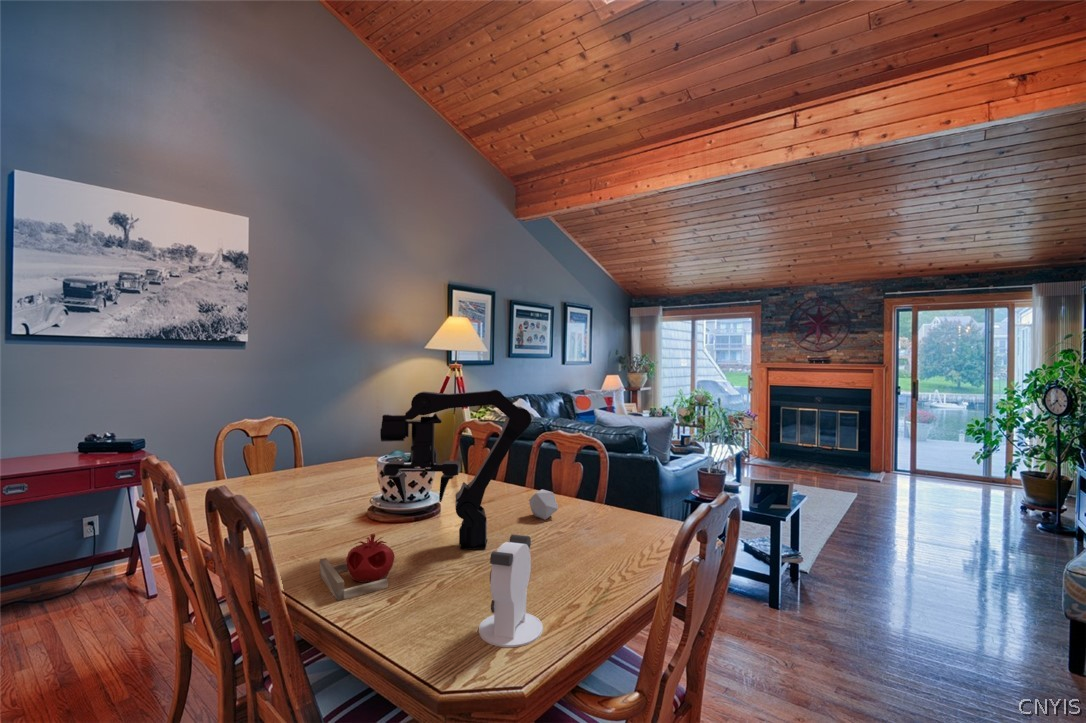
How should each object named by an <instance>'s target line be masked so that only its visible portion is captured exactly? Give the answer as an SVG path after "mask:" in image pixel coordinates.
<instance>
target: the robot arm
mask: <svg viewBox="0 0 1086 723" xmlns="http://www.w3.org/2000/svg"><path fill="white" fill-rule="evenodd" d="M410 405H411V406H410V408H409V409H408V410H406V411H405V414H394V415H393V414H383V415H382V419H381V427H380V429H379V430H380V431H379V432H380V434H379V435H380V441H381V442H382V443H383V442H389V443H390V442H405V440H406V438H409V437H410V425H411V446H410V456H409V458H410V459H411V462H410V463H405V462H404V461H405V460H390V461H388V462H386V464H384V466H383V468H382V475H383V476H386V477H388V479H389V480H392V482H393V483H394V485H395V487H396V488H397V491H398V493H399V495H400V498H401V500H402V502H403V503H405V502H407V501H406V500H407V492H406V490H407V489H406V473H407V472H408V473H411V472H412V473H413V472H415V473H416V472H417V473H419V472H425V473H426V472H433V473H434V472H436V473H437V472H442V475H441V476H440V482H439V483H440V485H439V494H438V495H439V497H438V498H439V499H438V500H439V503H442V501H443V499H444V495H445V492H446V489H447V485H448V483H449V481H450V480H453V479H454V477H455V476H459V474H460V473H461V471H462V469H461V468H462V466H461V462H460V461H459V460H445V461H444V462H443V463H438V453H439V452H438V450H437V449H436V445H435V443H436V442H435V424H441V423H443V422H442V418H440V417H439V416H438V414H437V413H438V412H442V411H444V410H448V409H457V408H458V409H459V408H470V407H481V406H483V407H484V406H495V407H496V408H497V410H499V411H500V412H501V413H503V414H504V415H505V416H506V417H505V419H504V422H503V425H502V428H501V432H500V434H499V436H498V437H497V439H496V441H495V442H494V444H493V446H492V447H491V449H490V451H489V452H488V454H487V456H486V458H485V459H484V461H483V462H482V465H481V466H480V467H479V469H478V471H477V472H476V474H475V476H474V477H473V479H472V480H471V481H470V482H468V483H466V482H465V481H462V484H461V487H460V488H459V491H458V492H456V493H455V501H454V502H455V503H454V504H455V511H456V512H455V513H456V515H457V516H458V517H459V518H460V519H461V520H462V521H461V525H460V526H459V530H458V531H459V532H458V535H459V536H458V537H459V539H458V544H459V549H460V550H485V549H487V544H488V537H487V535H488V534H487V533H488V532H487V531H488V530H487V528H488V527H487V523H488V521H487V515H486V511H485V510H486V509H485V508H484V507H483V506H482V501H483V499H484V495H485V492H486V489H487V487H488V486H489V484H490V482H491V481H492V479H493V477H494V475H495V474H496V473H497V470H498V469H499V468H500V466H501V464H502V462H503V460H504V459H505V457H506V456H507V454H508V452H509V451H510V449H511V447H512V446H513V444H514V443H515V442H516V441H517V440H518V439H519V438H520V437H521V436H522V435H523V434H524V433H525V432H526V431H527V429H528V428H529V427H530V425H531V424H532V415H531V412H530V411H529V410H527V409H526V408H524V407H523V406H522V407H521V406H517V405H515V404H514V402H512V401H511V400H510V399H508V398H507V397H506V396H504V394H503V393H502V391H500V390H498V389H491V390H484V391H481V390H480V391H472V392H471V391H470V392H459V393H458V392H457V393H456V392H455V393H442V392H435V391H420V392H418V393H417V394H415V395H414V396H413V397H412V399H411V404H410ZM430 414H433V415H432V416H428V415H430ZM419 416H420V419H419V420H418V419H415V418H417V417H419ZM414 419H415V420H414Z"/></svg>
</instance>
